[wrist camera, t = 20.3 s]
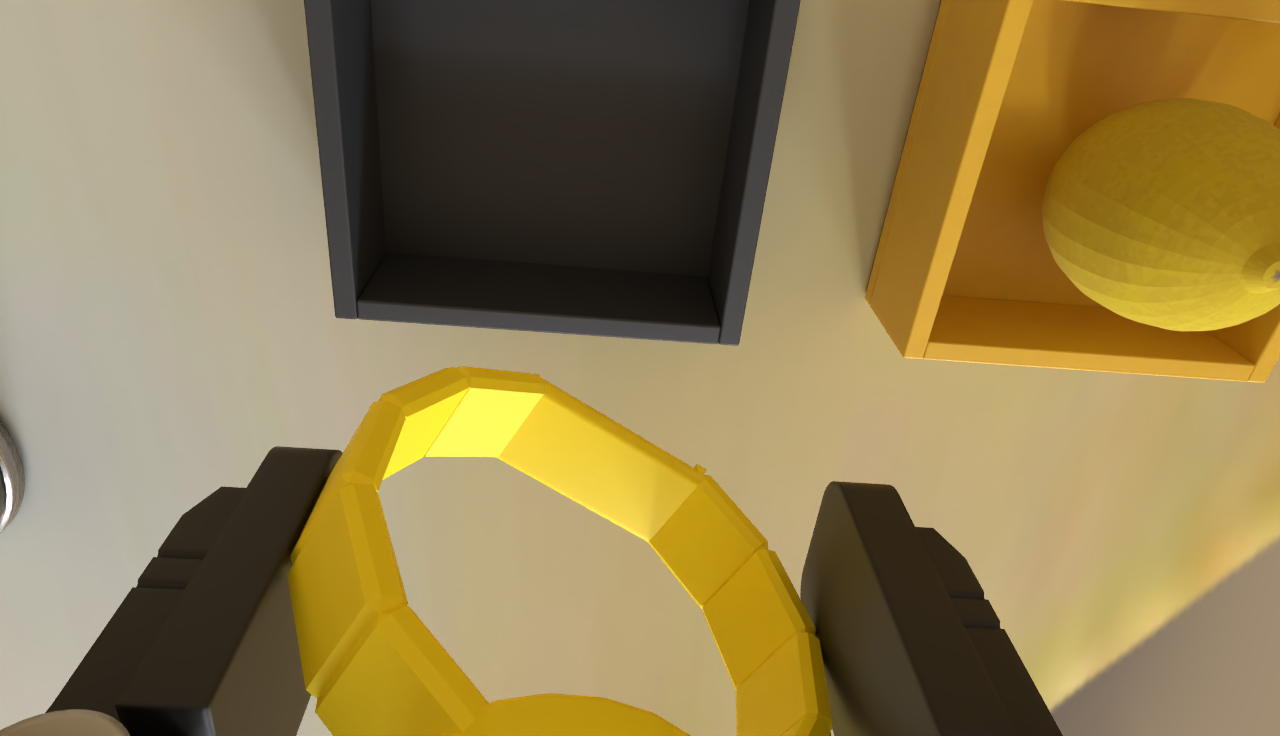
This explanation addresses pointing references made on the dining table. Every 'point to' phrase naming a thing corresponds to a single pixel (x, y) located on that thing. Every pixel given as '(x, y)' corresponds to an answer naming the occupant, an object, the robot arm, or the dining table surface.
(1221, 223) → the lemon
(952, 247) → the yellow bin
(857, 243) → the dining table surface
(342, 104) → the grey bin
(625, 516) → the watch
